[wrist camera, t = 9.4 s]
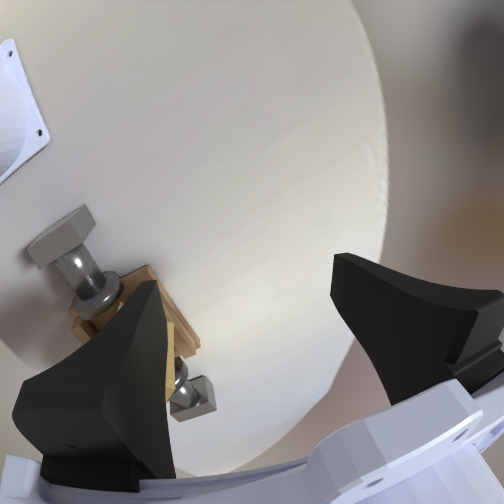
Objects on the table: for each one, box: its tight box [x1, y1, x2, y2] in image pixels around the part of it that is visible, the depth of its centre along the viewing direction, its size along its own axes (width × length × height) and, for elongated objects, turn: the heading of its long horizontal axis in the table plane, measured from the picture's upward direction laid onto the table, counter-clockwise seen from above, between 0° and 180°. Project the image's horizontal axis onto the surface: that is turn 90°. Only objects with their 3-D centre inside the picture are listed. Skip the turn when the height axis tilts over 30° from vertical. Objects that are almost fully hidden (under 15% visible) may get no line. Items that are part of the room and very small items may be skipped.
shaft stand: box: [26, 204, 217, 422], centre depth 21 cm, size 20×8×4 cm, turn 22°
